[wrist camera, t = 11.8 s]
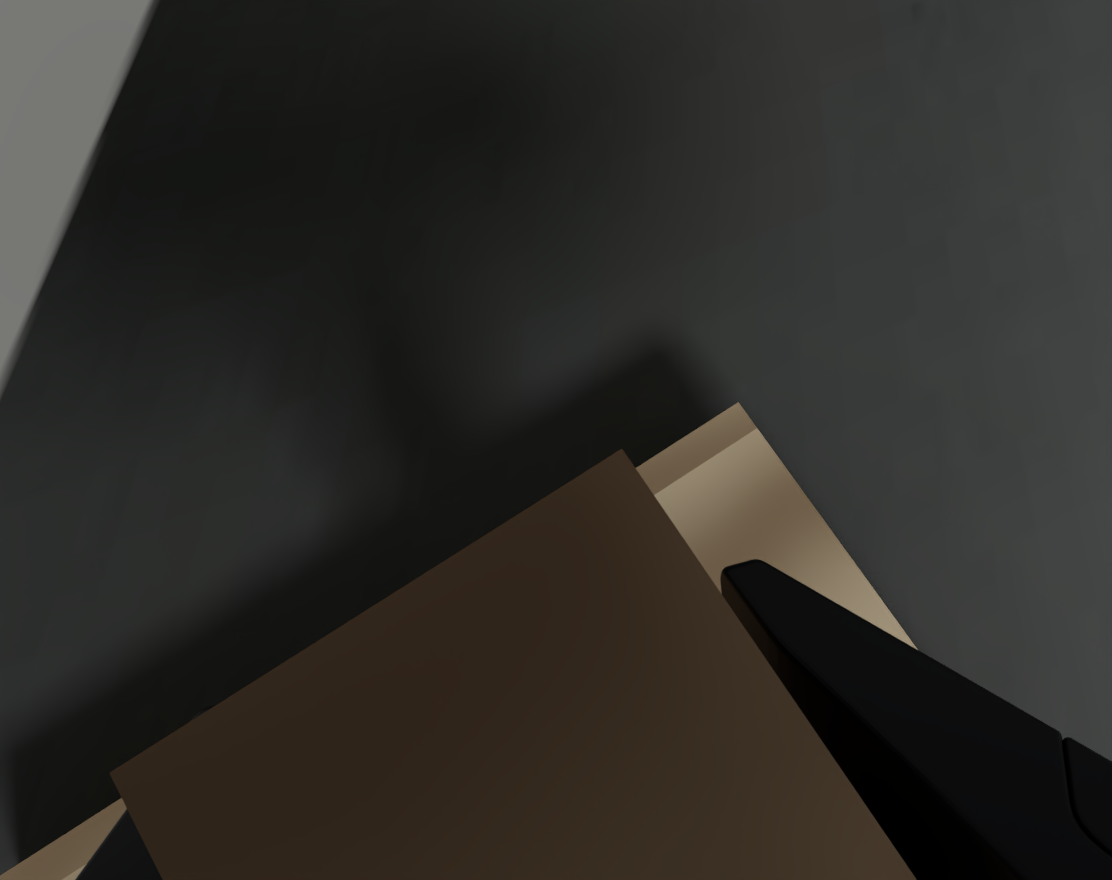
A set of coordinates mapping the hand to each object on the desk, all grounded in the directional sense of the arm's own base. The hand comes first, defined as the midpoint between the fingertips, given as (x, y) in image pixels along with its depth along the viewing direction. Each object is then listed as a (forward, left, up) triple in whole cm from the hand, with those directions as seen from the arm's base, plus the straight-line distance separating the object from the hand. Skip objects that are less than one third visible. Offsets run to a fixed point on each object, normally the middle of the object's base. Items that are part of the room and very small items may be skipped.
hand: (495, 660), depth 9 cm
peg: (-1, 0, -7) cm, 7 cm away
